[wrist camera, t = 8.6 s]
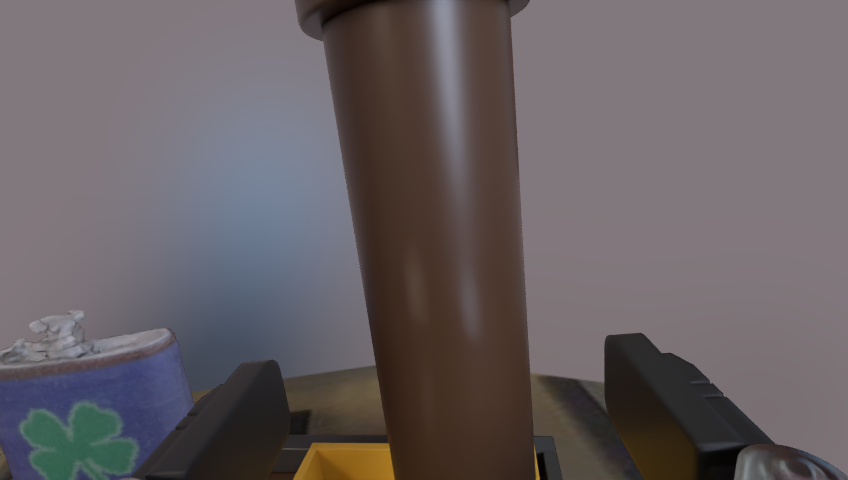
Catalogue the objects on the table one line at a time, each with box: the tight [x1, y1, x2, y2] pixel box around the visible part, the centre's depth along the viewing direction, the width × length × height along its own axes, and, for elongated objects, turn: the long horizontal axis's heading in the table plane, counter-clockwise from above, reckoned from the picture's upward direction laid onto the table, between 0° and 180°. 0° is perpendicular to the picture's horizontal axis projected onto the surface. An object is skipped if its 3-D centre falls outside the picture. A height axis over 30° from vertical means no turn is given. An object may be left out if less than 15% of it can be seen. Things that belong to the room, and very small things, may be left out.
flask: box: [0, 309, 195, 480], centre depth 20 cm, size 9×3×11 cm, turn 93°
